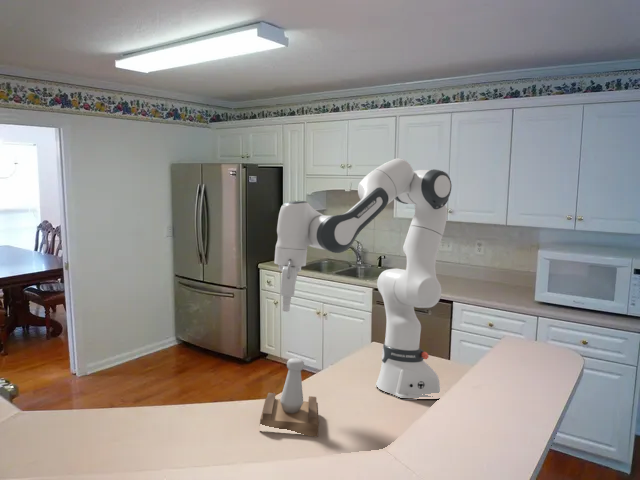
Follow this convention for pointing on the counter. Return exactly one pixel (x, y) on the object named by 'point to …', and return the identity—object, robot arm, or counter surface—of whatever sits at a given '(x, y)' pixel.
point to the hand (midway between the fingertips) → (286, 308)
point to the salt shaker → (293, 387)
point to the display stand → (291, 416)
